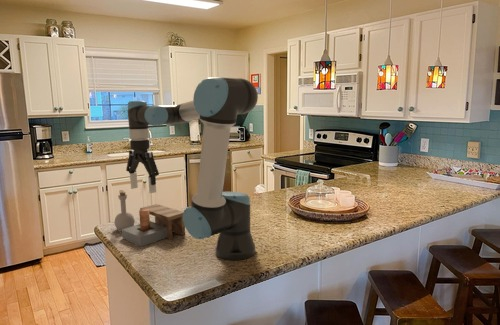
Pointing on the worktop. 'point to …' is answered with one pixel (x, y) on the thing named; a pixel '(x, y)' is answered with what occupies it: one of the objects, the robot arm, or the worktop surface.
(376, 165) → the worktop surface
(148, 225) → the peg
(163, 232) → the socket block
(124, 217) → the potion bottle
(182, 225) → the wooden bench
